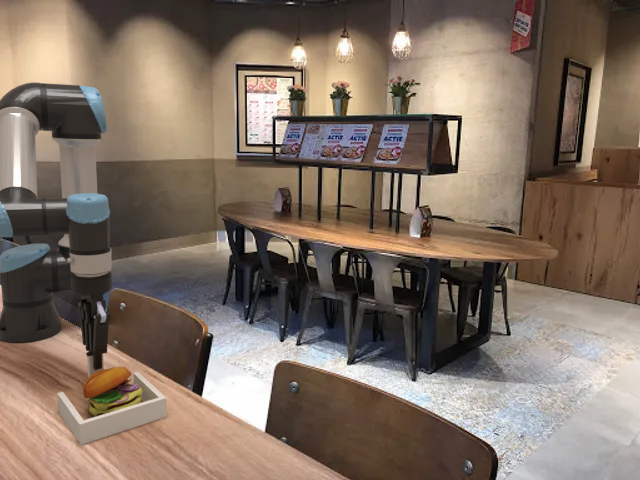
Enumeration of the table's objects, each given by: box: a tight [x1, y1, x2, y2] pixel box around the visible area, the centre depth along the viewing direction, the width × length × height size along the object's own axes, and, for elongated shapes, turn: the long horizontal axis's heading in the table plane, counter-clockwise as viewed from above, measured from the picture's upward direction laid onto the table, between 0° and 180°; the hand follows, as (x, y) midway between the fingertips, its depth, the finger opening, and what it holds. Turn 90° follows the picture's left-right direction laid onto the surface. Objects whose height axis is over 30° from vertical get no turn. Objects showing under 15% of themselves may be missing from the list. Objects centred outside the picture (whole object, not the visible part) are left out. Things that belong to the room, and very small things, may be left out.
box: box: [57, 371, 167, 446], centre depth 104 cm, size 14×16×4 cm
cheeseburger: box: [82, 366, 143, 417], centre depth 105 cm, size 10×11×10 cm
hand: (96, 381), depth 111 cm, fingers closed
